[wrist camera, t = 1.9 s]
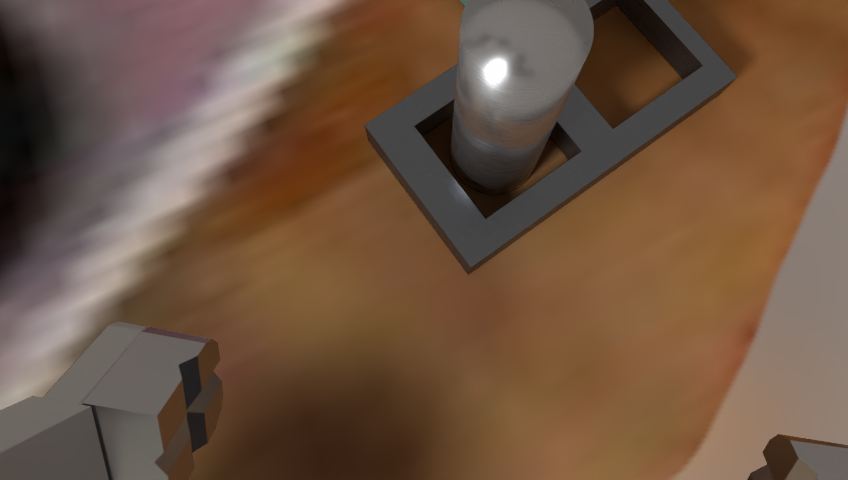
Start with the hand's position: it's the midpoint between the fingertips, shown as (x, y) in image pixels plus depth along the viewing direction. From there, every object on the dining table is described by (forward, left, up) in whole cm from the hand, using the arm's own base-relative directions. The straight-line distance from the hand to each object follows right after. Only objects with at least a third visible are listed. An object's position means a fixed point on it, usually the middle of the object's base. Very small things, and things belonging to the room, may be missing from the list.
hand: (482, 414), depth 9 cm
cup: (-9, +9, -22) cm, 25 cm away
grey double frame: (-9, +13, -22) cm, 27 cm away
